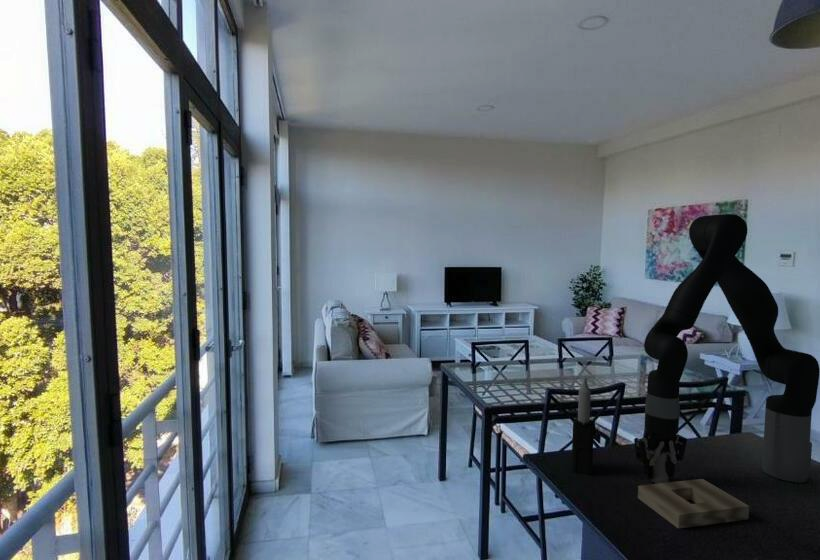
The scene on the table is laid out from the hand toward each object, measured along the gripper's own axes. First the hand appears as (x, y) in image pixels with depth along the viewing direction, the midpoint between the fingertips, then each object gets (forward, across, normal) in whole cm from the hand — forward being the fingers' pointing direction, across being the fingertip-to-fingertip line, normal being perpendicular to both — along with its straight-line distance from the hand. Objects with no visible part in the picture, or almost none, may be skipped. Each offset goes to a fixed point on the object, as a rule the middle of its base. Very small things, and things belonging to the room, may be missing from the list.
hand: (658, 476), depth 113 cm
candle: (+1, +16, -9) cm, 18 cm away
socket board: (+1, +2, +12) cm, 12 cm away
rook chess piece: (+1, 0, 0) cm, 1 cm away
